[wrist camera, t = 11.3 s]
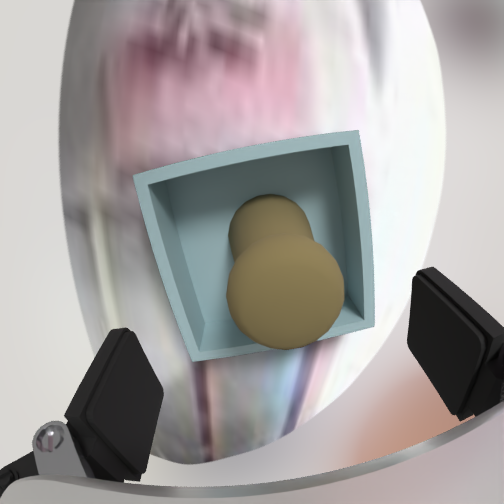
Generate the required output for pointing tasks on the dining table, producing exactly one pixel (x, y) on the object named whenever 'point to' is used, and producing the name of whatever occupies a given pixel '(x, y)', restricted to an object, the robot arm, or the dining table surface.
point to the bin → (222, 211)
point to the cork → (280, 275)
